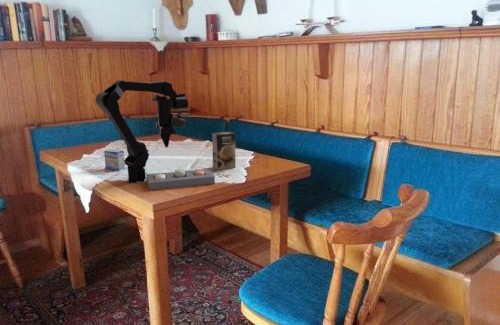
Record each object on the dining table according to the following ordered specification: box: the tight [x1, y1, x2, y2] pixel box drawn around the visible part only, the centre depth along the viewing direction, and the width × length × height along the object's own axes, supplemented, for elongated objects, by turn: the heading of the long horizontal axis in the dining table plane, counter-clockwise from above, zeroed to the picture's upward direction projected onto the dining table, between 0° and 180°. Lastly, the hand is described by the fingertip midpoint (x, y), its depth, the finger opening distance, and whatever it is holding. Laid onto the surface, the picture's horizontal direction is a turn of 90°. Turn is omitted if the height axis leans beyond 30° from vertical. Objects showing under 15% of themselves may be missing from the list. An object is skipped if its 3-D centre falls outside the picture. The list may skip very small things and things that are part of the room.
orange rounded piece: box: [195, 171, 204, 176], centre depth 177 cm, size 4×4×3 cm
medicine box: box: [103, 149, 126, 172], centre depth 195 cm, size 8×4×9 cm, turn 68°
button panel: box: [145, 168, 216, 191], centre depth 175 cm, size 26×12×3 cm, turn 108°
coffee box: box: [211, 131, 236, 171], centre depth 196 cm, size 9×6×16 cm
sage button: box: [174, 169, 186, 178], centre depth 174 cm, size 4×4×3 cm
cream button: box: [155, 173, 165, 180], centre depth 172 cm, size 4×4×3 cm
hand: (166, 146), depth 185 cm, fingers closed
